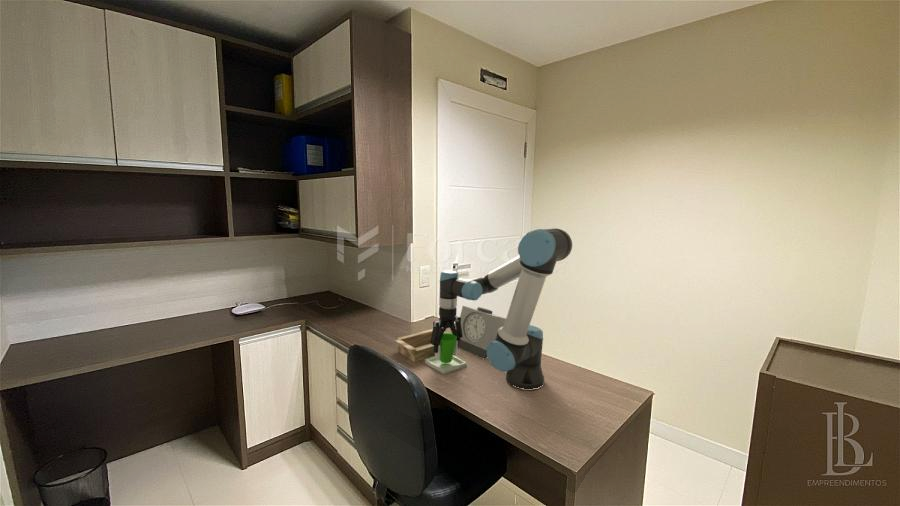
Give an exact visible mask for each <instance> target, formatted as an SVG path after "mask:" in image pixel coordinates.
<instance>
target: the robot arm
mask: <svg viewBox="0 0 900 506" xmlns="http://www.w3.org/2000/svg"><path fill="white" fill-rule="evenodd" d="M572 250H573V240H572V238H571V236H570V235H569V233H568V232H567V231H565V230H563V229H560V228H547V229H546V228H545V229H541V228H539V229H538V228H537V229H534V230H531V231H528V232H527V233H525V234H524V235H523V236H522V237H521V238H520V240H519V242H518V246H517V253H518V256H516V257H514V258H512V259H511V260H509V261H507V262H506V263H505V262H504V263H503V264H502V265H501V266H498V267H496V268H495V269H493V270H491V271H490V272H487V273H486V274H484V275H482V276H478V277H474V278H468V279H465V278H461V277H459V273H458V271H456V270H450V269H449V270H443V271H441V272H440V275H439V302H438V303H439V308H438V316H439V319H438V320H437V321H435V320H434V321H433V324H432V325H433V327H432V329H433V331H432V336H431V340H430V343H429V344H432V345H434V352H435V359H437V360H438V361H439V360H440V345H439V344H440V341H441V339H442V336H443V334H444V333H445V332H446V331H447V330H448V329H450V331H451V334H454V335H456V336H457V339H456V342H455V347H454V352H453V355H454V356H457V355H458V348H459V347H458V345H459V341H460V340H461V338H462V337H463V335H462V328H461V317H460V315H459V316H458V315H457V306H458V297H459V298H462V299H465V300H468V301H478V300H479V298H481V296H483V295H486V294H491V293H493V292H495V291H497V290H498V289H499V288H500V287H503V286H505V285H507V284H509V283H511V282H513V281H515V280H516V279H518V280H517V284H516V286H515V290H514V292H513V296H512V298H511V302H510V306H509V309H508V312H507V315H506V321H505V324H504V326H503V327H500V328H499V329H498V332H497V335H496V338H495V340H494V341H491V342H490V343H489V344H488V346H487V357H488V358H487V359H488V360H489V363H490V365H491V366H492V367H493V368H494V369H496V370H498V371H500V372H503V373H504V372H506V373H505V380H507V381H506V383H507V384H509V383H510V384H511V385H514V386H516V387H519V388H524V389H533V388H538V387H540V386H542V385H543V383H544V384H545V376H544V374H543V369H542V365H541V364H542V356H543V345H544V344H543V342H544V332H543V330H542V329H541V328H540V327H537V326H534V325H531V322H532V319H533V316H534V314H535V311H536V307H537V305H538V302H539V299H540V297H541V293H542V290H543V288H544V284H545V281H546V278H547V277H548V276H551V275H552V274H553V272H554V270H555V267H556V264H557V262H560V261H563V260H565V259H566V258H568V256H570V254H571V252H572ZM510 384H509V385H510ZM511 385H510V386H511ZM543 386H544V385H543Z"/></svg>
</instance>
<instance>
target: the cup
mask: <svg viewBox="0 0 900 506" xmlns="http://www.w3.org/2000/svg"><path fill="white" fill-rule="evenodd" d="M456 339H457V336H456V335H454V334H452V332H451V333H450V332H444V334H443V336H442V339H441V341H440V344H439V345H440V361H441V362H443V363H450V362H451V361H452V357H453V355H454V354H453V352H454V347H455V342H456Z"/></svg>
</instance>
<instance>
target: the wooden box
mask: <svg viewBox="0 0 900 506" xmlns="http://www.w3.org/2000/svg"><path fill="white" fill-rule="evenodd" d="M432 331H433V328H431V329H428V330H427V329H426V330H423V331H420V332H416V333H412V334H408V335H404V336H398V337H396V339H395V340H394V342H395V343H397V344H398V348H397V349H398V353H400V354H402V355H403V356H404V357H406V358H407V359H409V360H411V361H412V362H413V363H414V362H418V361H421V360H425V359H428V358H431V357H434V356H435V352H434V345H432V344H430V340H431V336H432Z"/></svg>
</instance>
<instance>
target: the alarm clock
mask: <svg viewBox="0 0 900 506" xmlns="http://www.w3.org/2000/svg"><path fill="white" fill-rule="evenodd" d="M459 317H461V328H462V335H463V337H462V338H461V340H460V341H459V345H458V348H459V349H461V350H463V351H466V352H468V353H470V354H472V355H473V356H476V355H477V357H479V358H481V359H483V358H484V359H483V360H485V359H488V358H487V346H488V344H489V343H490V342H491V341H494V340H495V338H496V335H497V332H498V329H499V328H500V327H503V326H504V324H505V321H506V318H505V317H503V316H500V315H496V314H493V311H492V310H491V309H488V308H484V307H479V306H478V307H477V308H475V307H470V306H466V305H462V307H461V312H460V315H459Z"/></svg>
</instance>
